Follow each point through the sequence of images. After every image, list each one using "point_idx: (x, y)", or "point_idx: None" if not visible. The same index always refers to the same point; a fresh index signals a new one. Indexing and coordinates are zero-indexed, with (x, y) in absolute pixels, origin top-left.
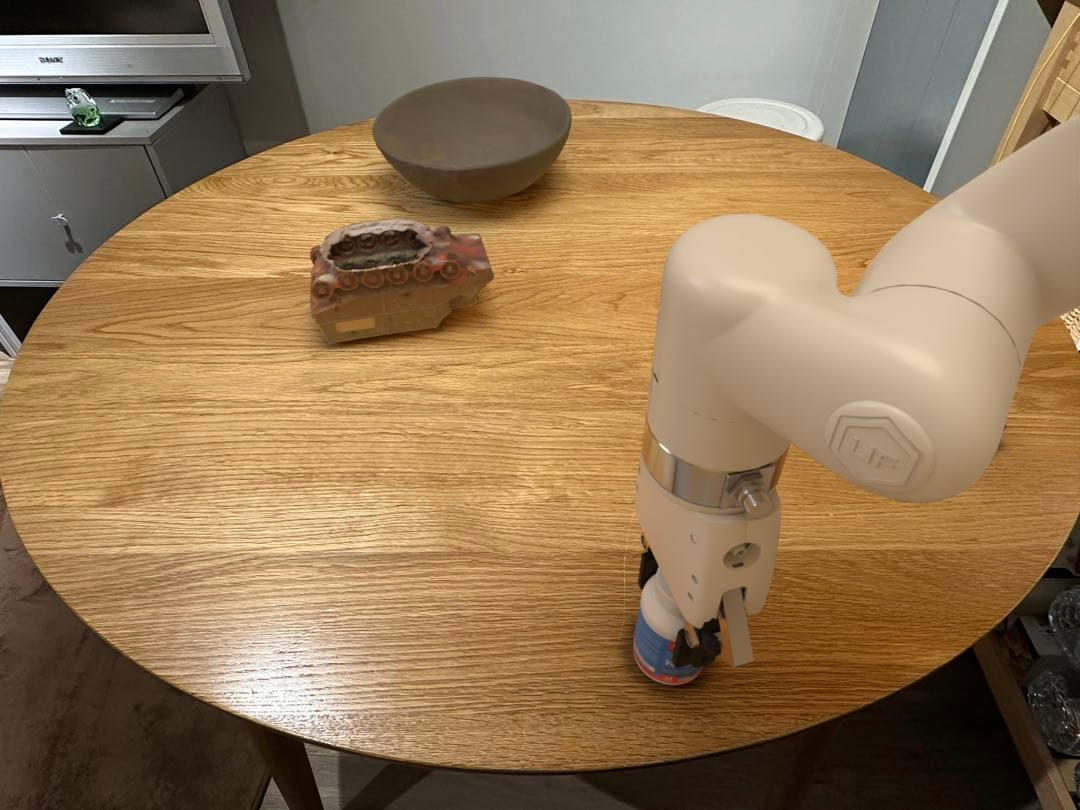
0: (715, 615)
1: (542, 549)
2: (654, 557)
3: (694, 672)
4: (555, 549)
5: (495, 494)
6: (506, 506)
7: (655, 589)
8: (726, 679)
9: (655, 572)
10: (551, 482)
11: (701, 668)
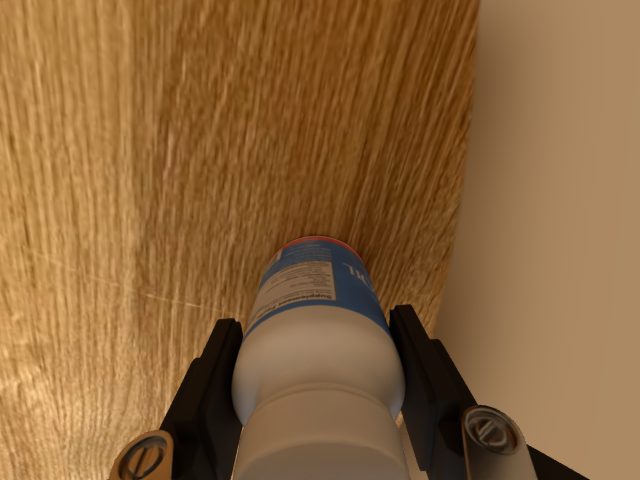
0: (381, 356)
1: (135, 385)
2: (216, 477)
3: (370, 279)
4: (135, 372)
5: (41, 420)
6: (61, 412)
7: None
8: (373, 217)
9: (236, 417)
10: (3, 359)
11: (361, 261)
